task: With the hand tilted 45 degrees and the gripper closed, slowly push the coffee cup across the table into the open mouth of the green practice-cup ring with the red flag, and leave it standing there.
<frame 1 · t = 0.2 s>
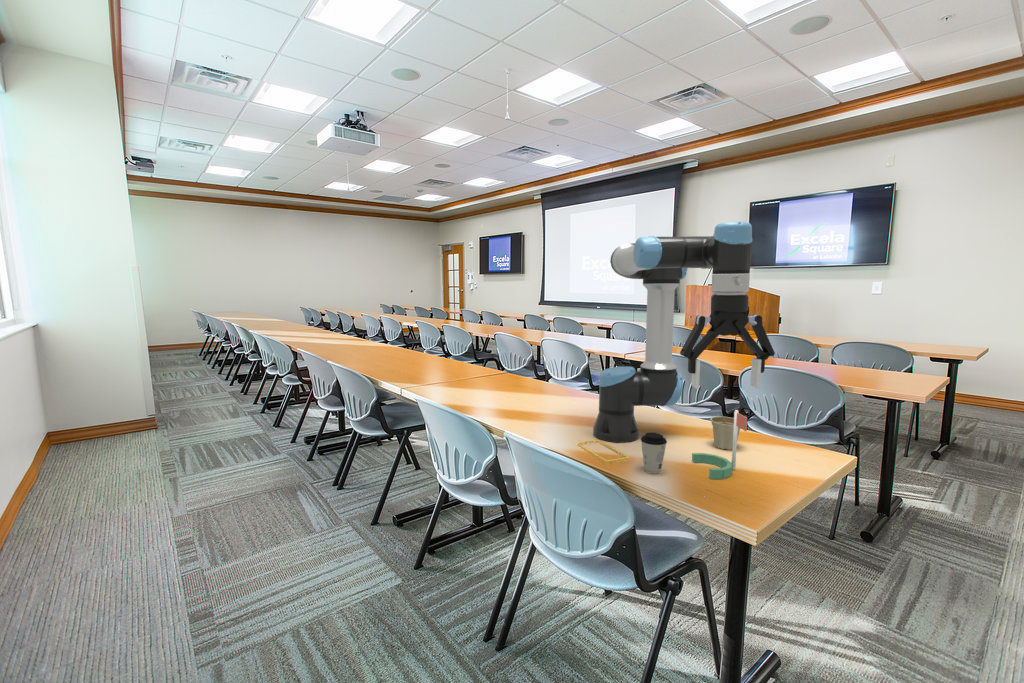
hand: (724, 387, 104), 28 cm above the table, tool pointing down, fingers open, 13 cm apart
coffee cup: (652, 471, 125), on the table
flag: (733, 469, 125), on the table
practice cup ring: (706, 469, 125), on the table
flower pot: (725, 447, 143), on the table
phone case: (602, 454, 139), on the table
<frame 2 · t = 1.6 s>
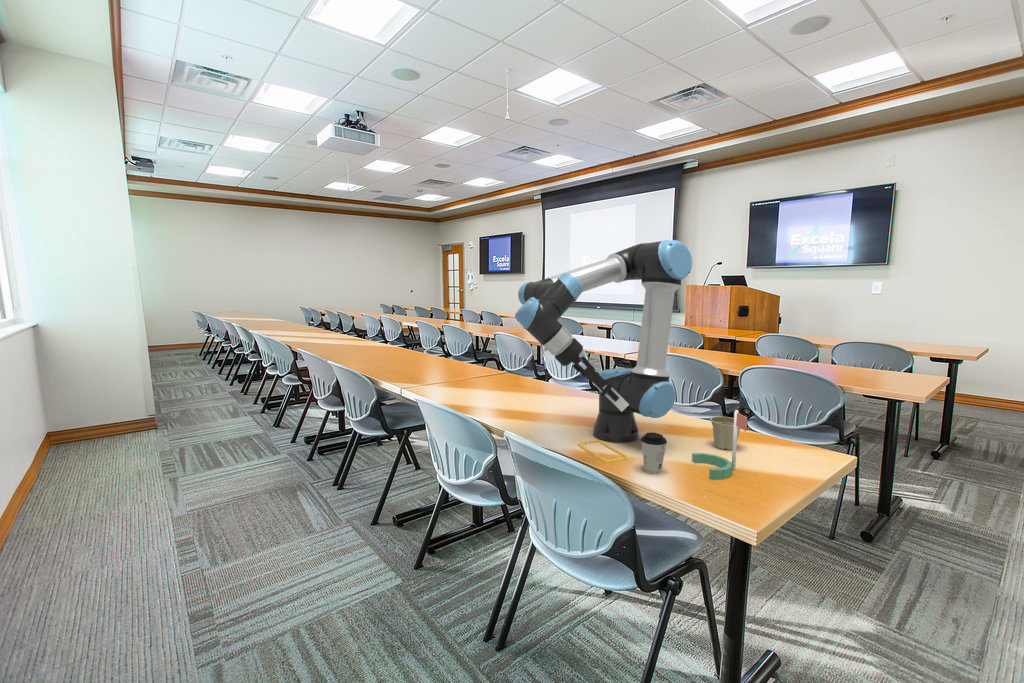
hand: (618, 401, 123), 20 cm above the table, tool tilted 45°, fingers open, 13 cm apart
nothing on the table moved.
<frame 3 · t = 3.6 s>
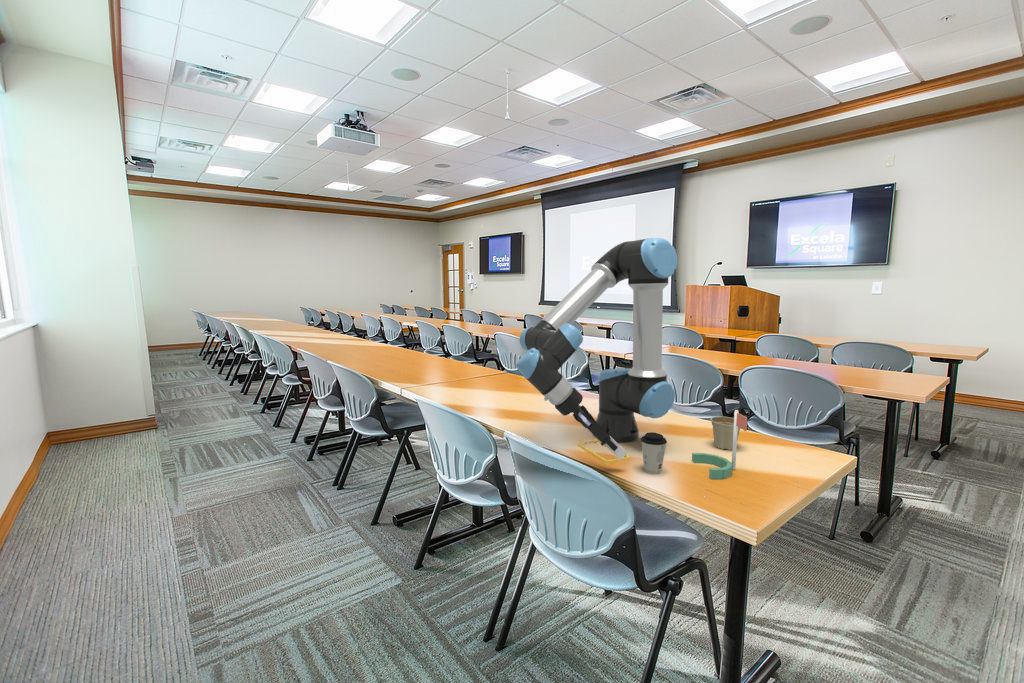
hand: (622, 455, 124), 4 cm above the table, tool tilted 45°, fingers closed
nothing on the table moved.
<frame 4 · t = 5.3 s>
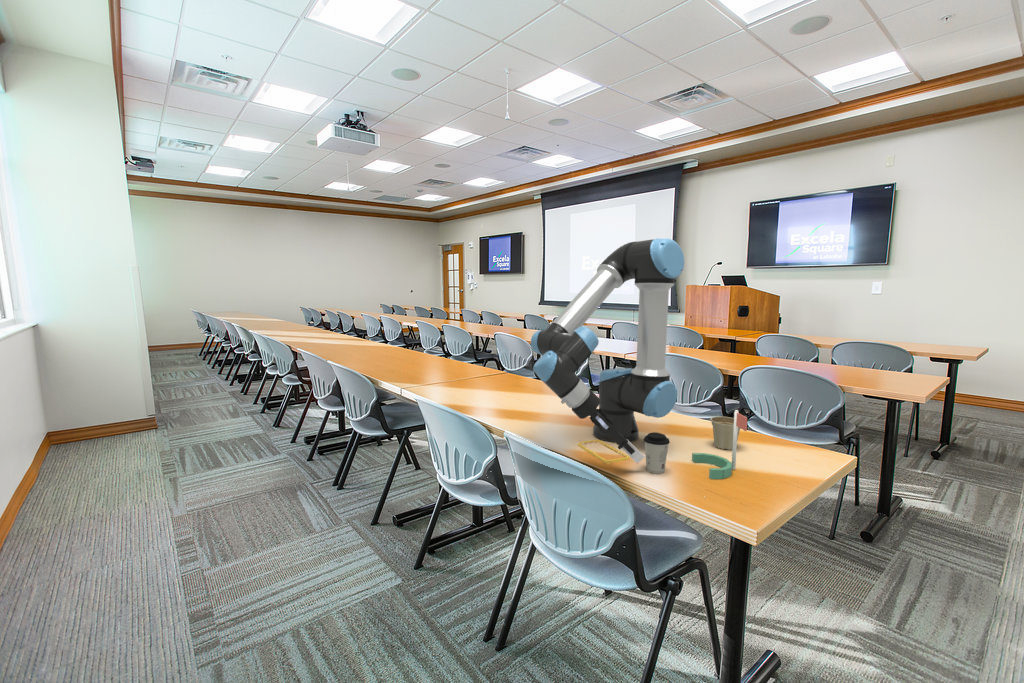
hand: (639, 459, 124), 4 cm above the table, tool tilted 45°, fingers closed
coffee cup: (655, 471, 125), on the table, touching gripper
everything else where it was.
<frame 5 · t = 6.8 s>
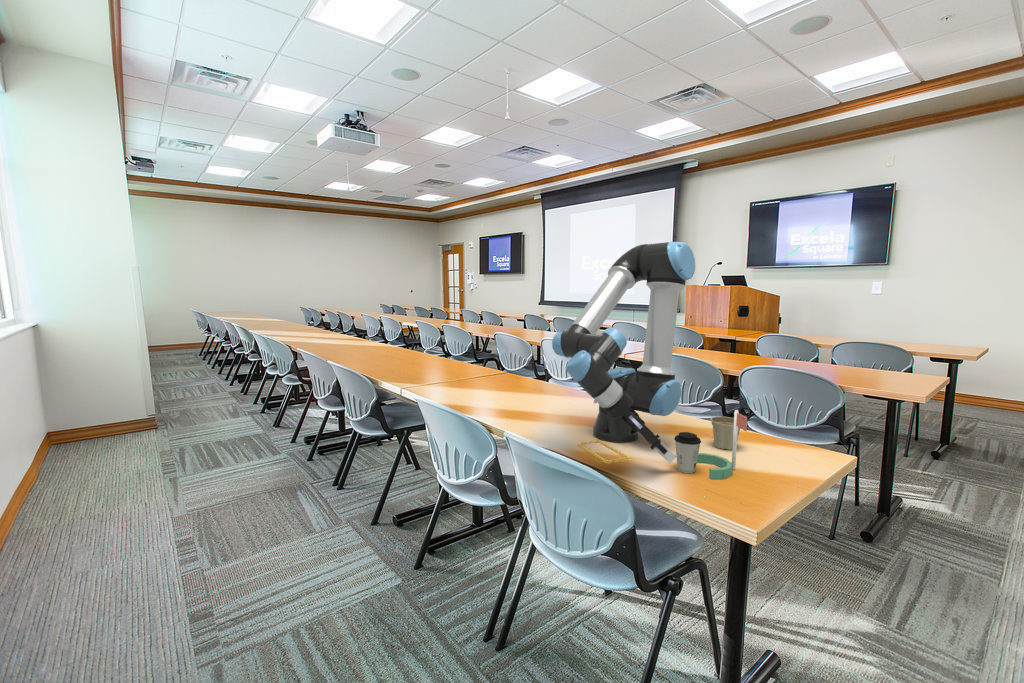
hand: (672, 459, 123), 4 cm above the table, tool tilted 45°, fingers closed
coffee cup: (686, 470, 125), on the table, touching gripper
everything else where it was.
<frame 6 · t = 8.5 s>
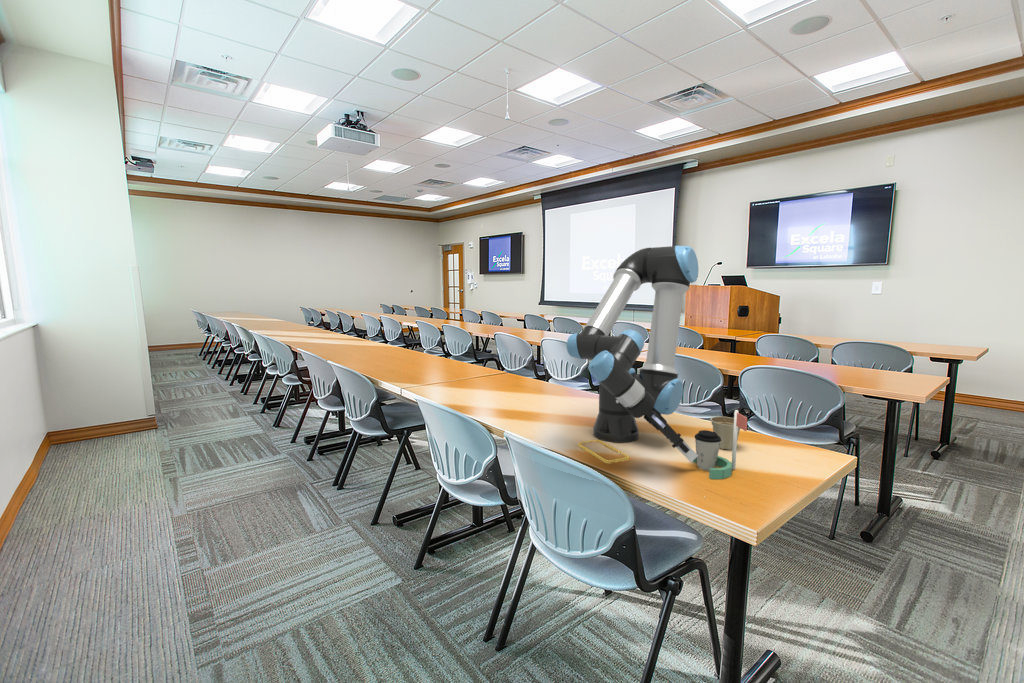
hand: (693, 457, 125), 4 cm above the table, tool tilted 45°, fingers closed
coffee cup: (706, 468, 127), on the table, touching gripper, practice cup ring
everything else where it was.
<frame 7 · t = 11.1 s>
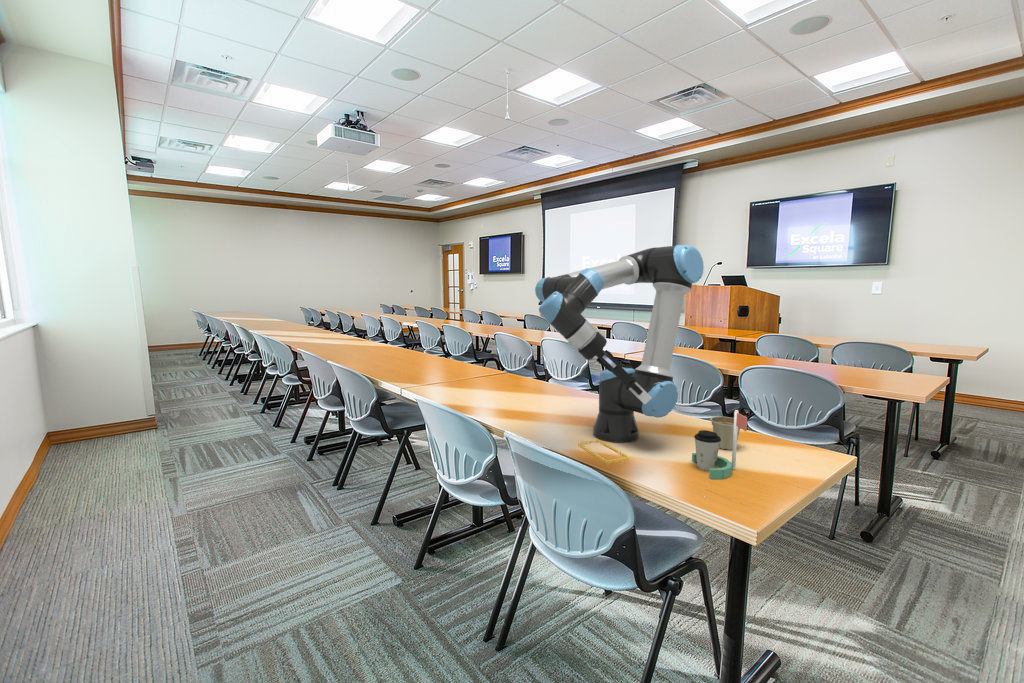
hand: (647, 400, 123), 20 cm above the table, tool tilted 45°, fingers closed
coffee cup: (706, 468, 127), on the table
everything else where it was.
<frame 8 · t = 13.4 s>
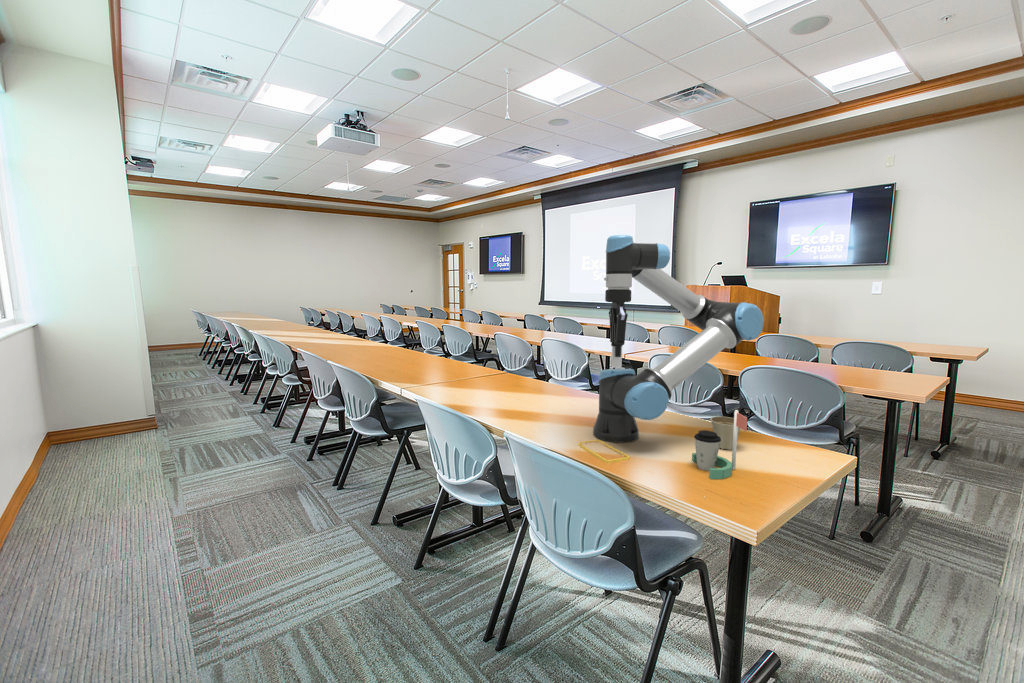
hand: (616, 367, 137), 26 cm above the table, tool pointing down, fingers closed
nothing on the table moved.
at the end: coffee cup 1.7 cm off-centre on the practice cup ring, point 0.0 cm above the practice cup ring's base; coffee cup tilted 0° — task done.
